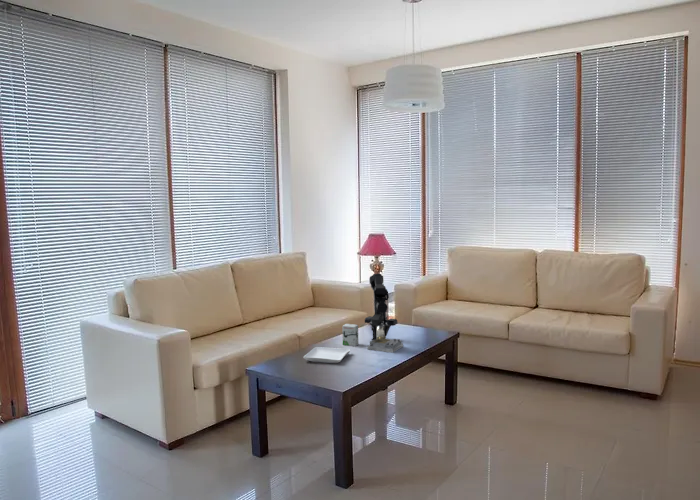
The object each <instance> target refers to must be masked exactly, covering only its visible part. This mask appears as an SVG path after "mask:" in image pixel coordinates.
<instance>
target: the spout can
mask: <svg viewBox="0 0 700 500" xmlns="http://www.w3.org/2000/svg"><path fill="white" fill-rule="evenodd" d="M376 338H377V339H387V336H385V326H384V325H383V323H381V325H377V326H376Z"/></svg>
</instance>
